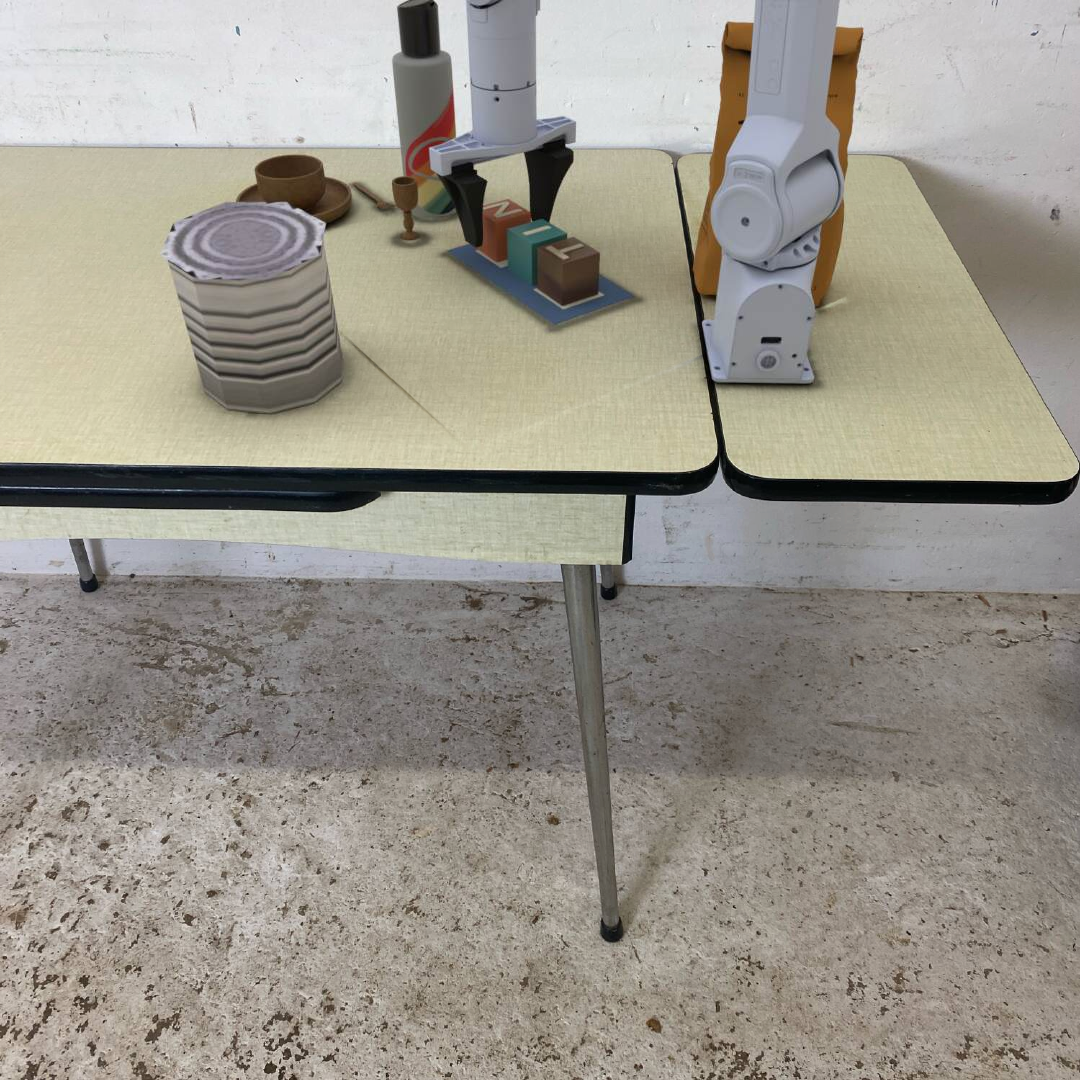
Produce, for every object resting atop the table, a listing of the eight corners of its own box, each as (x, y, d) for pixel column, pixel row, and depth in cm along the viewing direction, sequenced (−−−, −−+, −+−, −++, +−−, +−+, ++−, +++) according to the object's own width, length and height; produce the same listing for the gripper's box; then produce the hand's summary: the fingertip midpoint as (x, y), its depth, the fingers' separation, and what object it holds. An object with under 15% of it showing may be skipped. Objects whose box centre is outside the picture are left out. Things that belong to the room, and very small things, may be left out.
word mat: (635, 299, 85) (635, 295, 85) (554, 328, 82) (554, 324, 81) (522, 231, 96) (522, 227, 96) (446, 254, 93) (446, 250, 92)
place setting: (351, 177, 108) (344, 123, 104) (434, 239, 95) (429, 181, 91) (200, 211, 101) (186, 154, 97) (267, 283, 88) (254, 222, 84)
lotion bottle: (452, 223, 98) (437, 7, 85) (400, 219, 99) (377, 4, 86) (466, 202, 102) (454, -8, 89) (416, 198, 103) (396, -10, 90)
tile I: (567, 274, 88) (567, 232, 86) (531, 285, 87) (531, 243, 84) (542, 259, 91) (542, 217, 88) (507, 269, 89) (506, 227, 86)
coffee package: (826, 322, 82) (886, 45, 68) (683, 305, 85) (712, 34, 70) (830, 272, 89) (885, 12, 75) (698, 257, 92) (727, 3, 77)
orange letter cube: (531, 252, 92) (531, 211, 89) (496, 262, 90) (495, 221, 87) (509, 238, 94) (508, 197, 92) (475, 247, 93) (472, 206, 90)
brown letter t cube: (598, 294, 85) (600, 251, 83) (562, 306, 84) (562, 262, 81) (572, 277, 88) (573, 235, 85) (537, 289, 86) (536, 246, 83)
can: (347, 334, 81) (326, 195, 73) (346, 408, 72) (321, 260, 64) (210, 344, 80) (173, 204, 72) (193, 420, 71) (149, 272, 63)
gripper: (545, 56, 87) (545, 202, 96) (406, 84, 81) (420, 237, 90) (591, 75, 83) (587, 225, 92) (449, 106, 76) (459, 264, 85)
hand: (507, 233), depth 90 cm, fingers open, 7 cm apart
